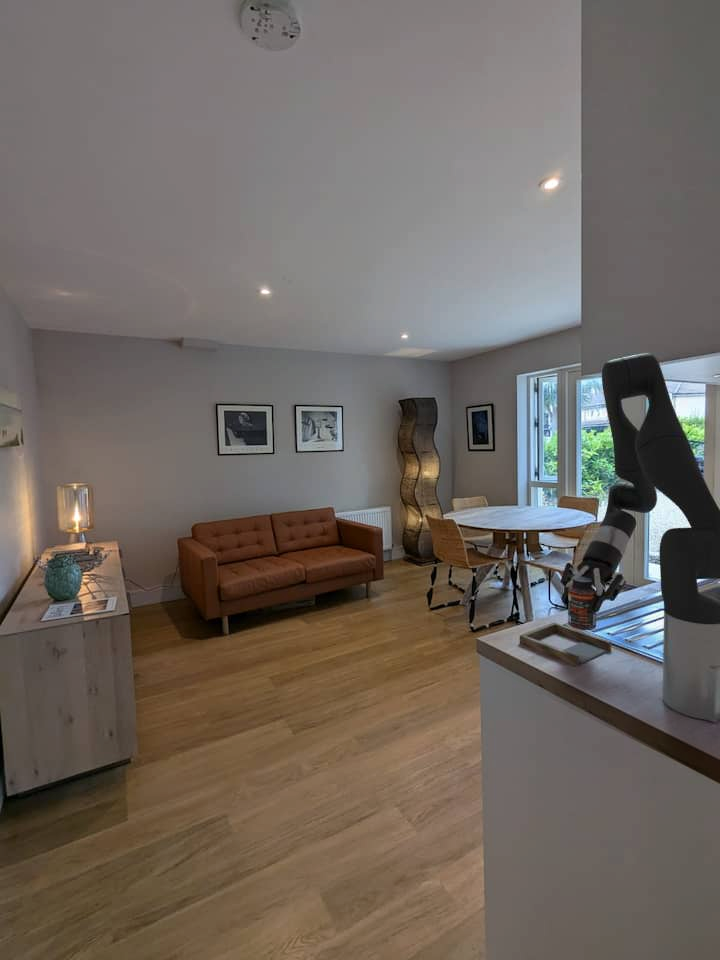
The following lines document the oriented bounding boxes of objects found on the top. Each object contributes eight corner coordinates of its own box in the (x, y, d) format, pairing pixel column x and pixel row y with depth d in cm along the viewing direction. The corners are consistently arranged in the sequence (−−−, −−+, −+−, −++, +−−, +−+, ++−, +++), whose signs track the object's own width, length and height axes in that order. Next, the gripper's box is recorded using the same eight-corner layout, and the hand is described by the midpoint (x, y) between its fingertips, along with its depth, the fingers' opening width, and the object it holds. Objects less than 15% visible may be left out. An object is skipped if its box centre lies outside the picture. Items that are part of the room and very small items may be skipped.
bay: (611, 649, 108) (611, 641, 108) (576, 666, 100) (576, 657, 100) (554, 629, 120) (554, 622, 120) (519, 643, 113) (519, 635, 113)
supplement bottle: (567, 629, 105) (566, 581, 104) (568, 619, 110) (568, 574, 110) (596, 633, 102) (596, 583, 102) (596, 623, 108) (596, 576, 107)
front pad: (606, 652, 107) (606, 650, 107) (581, 664, 101) (581, 662, 101) (582, 643, 112) (582, 641, 112) (557, 654, 106) (557, 652, 106)
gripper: (572, 535, 115) (542, 591, 109) (631, 544, 103) (602, 608, 97) (584, 552, 118) (556, 607, 113) (643, 563, 106) (615, 626, 101)
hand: (577, 607), depth 105 cm, fingers closed on supplement bottle, 6 cm apart
